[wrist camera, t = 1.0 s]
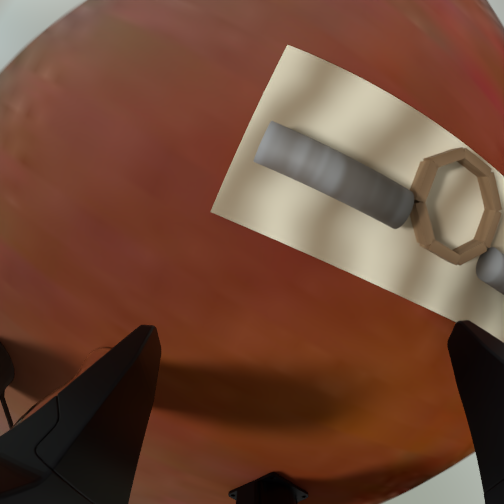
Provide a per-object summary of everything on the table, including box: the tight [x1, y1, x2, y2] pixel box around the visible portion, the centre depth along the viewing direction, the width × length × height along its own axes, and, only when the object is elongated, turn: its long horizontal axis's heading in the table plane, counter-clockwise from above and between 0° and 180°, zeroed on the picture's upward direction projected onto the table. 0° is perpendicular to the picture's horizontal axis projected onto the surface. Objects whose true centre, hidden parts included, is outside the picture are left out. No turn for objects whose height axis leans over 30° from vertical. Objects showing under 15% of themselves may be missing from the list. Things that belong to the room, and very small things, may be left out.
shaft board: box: [211, 45, 504, 342], centre depth 20 cm, size 32×13×4 cm, turn 66°
